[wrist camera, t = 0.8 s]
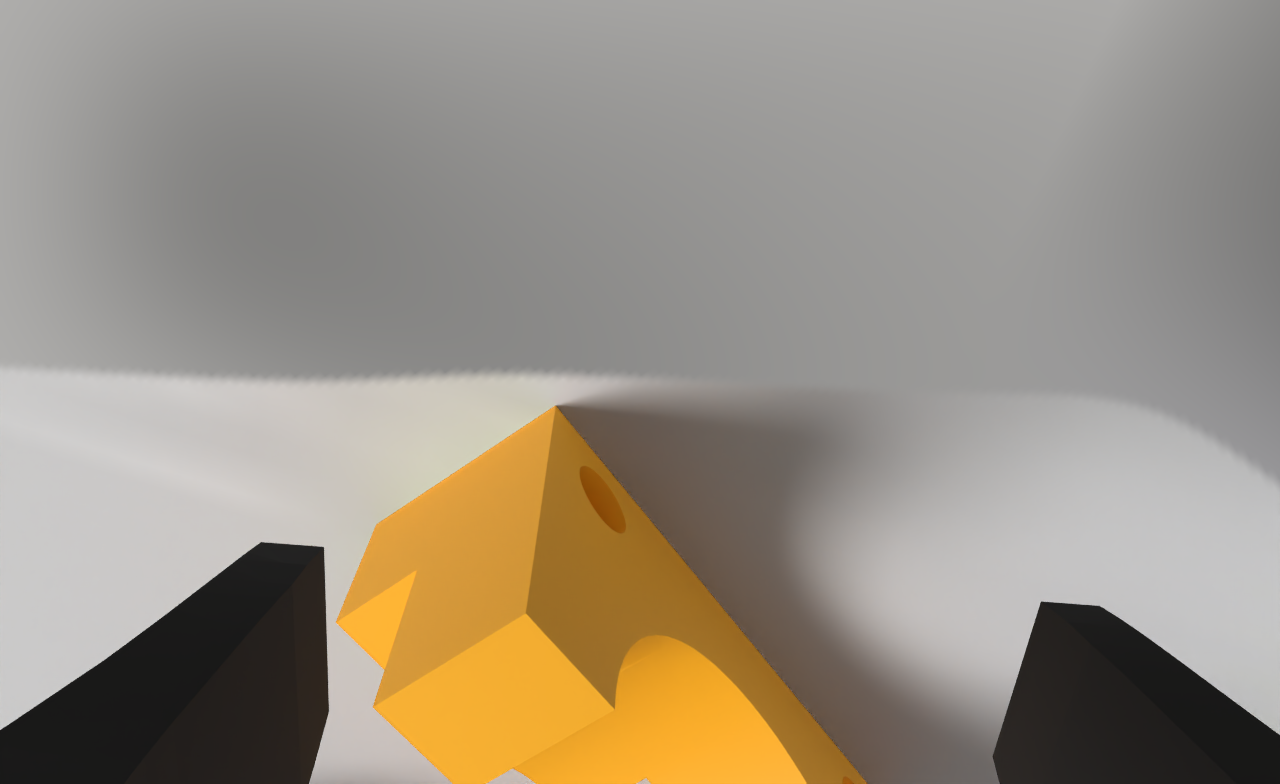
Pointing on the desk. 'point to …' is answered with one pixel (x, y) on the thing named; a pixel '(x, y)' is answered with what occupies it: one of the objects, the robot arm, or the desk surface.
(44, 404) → the desk surface
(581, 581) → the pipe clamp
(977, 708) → the desk surface
